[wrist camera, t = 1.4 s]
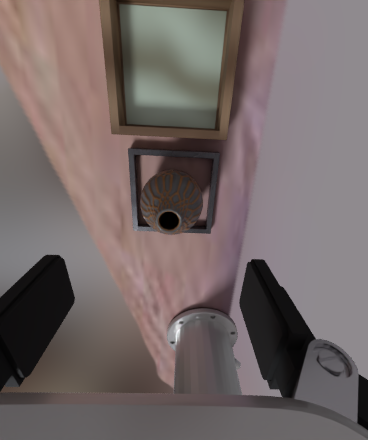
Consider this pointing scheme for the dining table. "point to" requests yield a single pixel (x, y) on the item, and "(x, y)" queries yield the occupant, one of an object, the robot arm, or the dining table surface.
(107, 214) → the dining table surface
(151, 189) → the vase
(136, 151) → the trivet frame
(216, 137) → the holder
